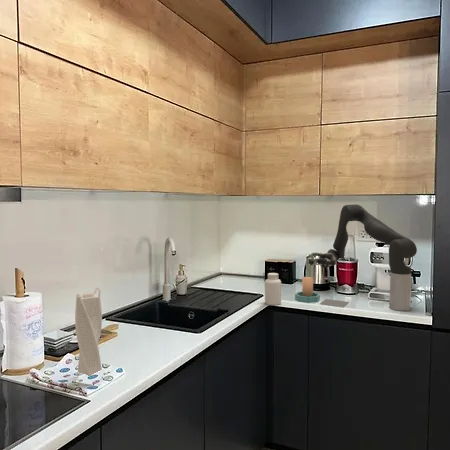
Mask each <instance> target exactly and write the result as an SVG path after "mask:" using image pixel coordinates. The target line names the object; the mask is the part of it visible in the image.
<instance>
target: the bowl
mask: <svg viewBox="0 0 450 450" xmlns="http://www.w3.org/2000/svg"><path fill="white" fill-rule="evenodd" d="M294 299H295V301H298V302H300V303H307V304H308V303H309V304H310V303H317V302H319V301H320V300H321V294H320V293H317V292H315V291H313V297H306V296H302V291H297V292H296V293H294Z"/></svg>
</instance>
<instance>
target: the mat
mask: <svg viewBox="0 0 450 450" xmlns="http://www.w3.org/2000/svg"><path fill="white" fill-rule="evenodd" d="M349 303H350V301H345V300H336V299H329V298H326V299H324V300H323V301H321V302H320V303H319V305H323V306H331V307H336V308H337V307H338V308H345V307H346V306H347V305H348V304H349Z"/></svg>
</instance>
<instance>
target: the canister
mask: <svg viewBox="0 0 450 450" xmlns="http://www.w3.org/2000/svg"><path fill="white" fill-rule="evenodd" d="M301 280H302V281H301V284H302V285H301V286H302V287H301V288H302V290H301V292H302V296H306V297H313V292H314V277H313V276H303V277H302V278H301Z"/></svg>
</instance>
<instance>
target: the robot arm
mask: <svg viewBox="0 0 450 450" xmlns="http://www.w3.org/2000/svg"><path fill="white" fill-rule="evenodd" d="M338 220H339V221H338V224H337V225H338V226H337V231H336V232H337V233H336V236H335V238H334V242H333V245H332V247H333V248H330V249H329V250H328V251H327V252H326V253H323V254H321V255H320V256H319V257H318V258H310V259H308V265H309V266H313V265H315V266H320V267H321V268H325V269H327V268H329V267H331V266H333V267H334V266H336V265H337V264H336V262H337V260H338V259H339V258H344V259H345V257H346V256H345V252H346V251H345V250H346V247H347V244H348V241H349V233H348V231H347V226H348V224H349V222H359V223H361V224H363V227H364V232H365V233H366V234H367V235H368V236H369V237H370V238H372V239H374V240H375V241H378V242H380V243H384V244H387V245H388V266H389V271H390V273H389V276H390V277H389V298H388V299H389V309H390V310H391V309H392V310H394V311H403V312H405V311H407V312H408V311H410V310H411V308H412V288H411V287H412V267H411V266H409V265H406V264H405V260H404V259H410V258H411V259H412V258H413V257H416V254H417V252H418V249H417V245H416V244H415V241H413V240H411V238H408V237H406V236H404V235H402V234H401V233H398V231H395V229H392V228H391V227H389V226H388V225H387V224H385V222H382V221H381V220H380V219H378V218H376V217H375V216H374V215H372V214H371V213H369V212H368V211H367V210H366V209H365V208H364V207H363V206H361V205H360V204H345V205H343V206H342V208H341V210H340V215H339V219H338ZM344 256H345V257H344Z"/></svg>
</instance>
